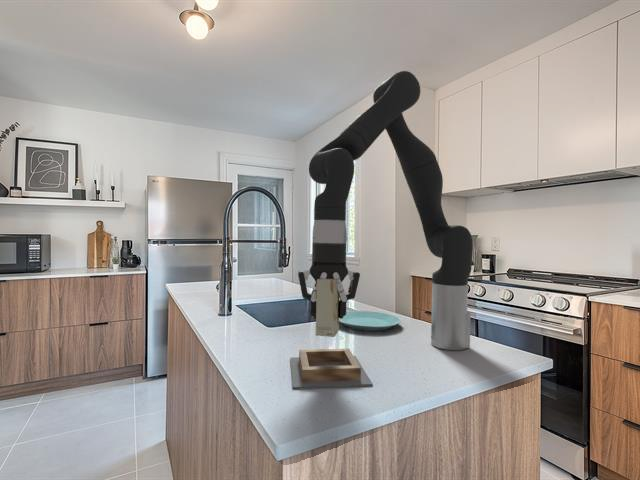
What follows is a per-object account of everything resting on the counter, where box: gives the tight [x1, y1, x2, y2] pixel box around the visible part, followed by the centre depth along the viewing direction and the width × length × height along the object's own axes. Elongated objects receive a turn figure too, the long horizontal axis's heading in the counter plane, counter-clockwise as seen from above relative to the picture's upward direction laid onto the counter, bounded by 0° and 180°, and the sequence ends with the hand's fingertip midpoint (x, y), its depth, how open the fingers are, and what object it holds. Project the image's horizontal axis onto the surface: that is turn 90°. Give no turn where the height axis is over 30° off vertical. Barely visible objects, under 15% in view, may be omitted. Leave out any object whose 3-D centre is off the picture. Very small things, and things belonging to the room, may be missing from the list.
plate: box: [339, 310, 402, 332], centre depth 114 cm, size 22×22×3 cm
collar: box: [298, 348, 361, 382], centre depth 75 cm, size 12×12×2 cm
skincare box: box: [315, 279, 340, 338], centre depth 75 cm, size 6×4×12 cm
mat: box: [289, 355, 374, 390], centre depth 75 cm, size 16×16×1 cm
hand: (327, 317), depth 75 cm, fingers closed on skincare box, 5 cm apart
